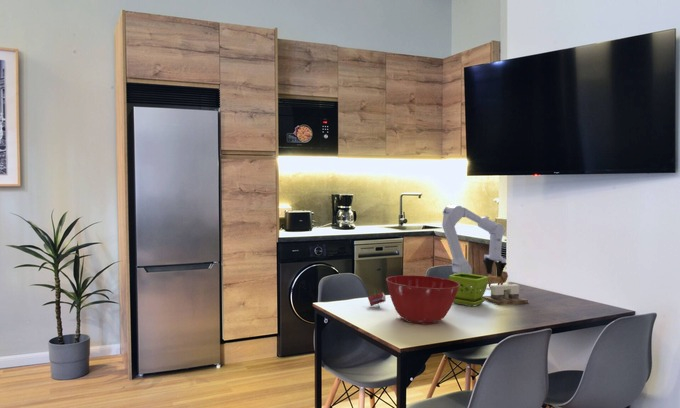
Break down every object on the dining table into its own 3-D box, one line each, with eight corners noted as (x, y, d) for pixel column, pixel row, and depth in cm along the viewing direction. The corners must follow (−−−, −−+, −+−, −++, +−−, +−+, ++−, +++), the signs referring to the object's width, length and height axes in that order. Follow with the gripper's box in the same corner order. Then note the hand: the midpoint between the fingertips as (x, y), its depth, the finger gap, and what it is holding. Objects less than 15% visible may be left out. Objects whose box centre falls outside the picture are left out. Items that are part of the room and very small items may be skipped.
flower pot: (475, 308, 240) (476, 279, 240) (446, 303, 249) (447, 275, 248) (488, 303, 251) (489, 276, 251) (459, 298, 260) (461, 272, 259)
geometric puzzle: (364, 302, 233) (376, 288, 233) (364, 299, 240) (375, 285, 240) (377, 313, 233) (389, 298, 233) (376, 309, 240) (388, 295, 240)
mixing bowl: (409, 307, 236) (411, 272, 236) (470, 320, 218) (472, 281, 218) (370, 318, 214) (371, 279, 214) (434, 334, 196) (436, 290, 196)
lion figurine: (504, 287, 296) (504, 270, 295) (509, 289, 290) (510, 272, 290) (479, 287, 292) (480, 270, 291) (484, 289, 287) (485, 272, 286)
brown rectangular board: (498, 304, 249) (498, 294, 249) (481, 299, 260) (482, 288, 260) (527, 303, 256) (528, 292, 256) (510, 297, 267) (511, 287, 267)
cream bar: (494, 295, 254) (495, 286, 254) (490, 293, 257) (491, 285, 257) (519, 293, 259) (519, 285, 259) (514, 292, 262) (515, 284, 262)
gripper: (511, 249, 269) (510, 277, 270) (492, 246, 283) (491, 272, 283) (500, 249, 266) (498, 277, 267) (481, 246, 280) (479, 272, 280)
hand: (494, 275), depth 275 cm, fingers open, 7 cm apart
